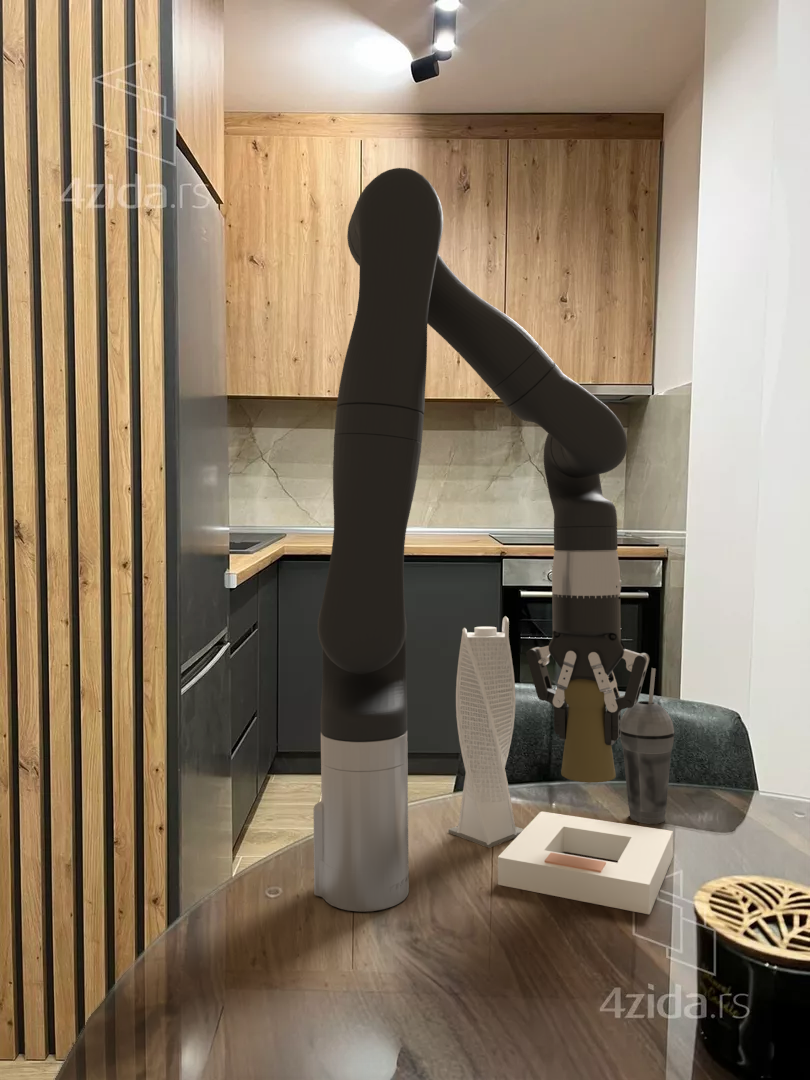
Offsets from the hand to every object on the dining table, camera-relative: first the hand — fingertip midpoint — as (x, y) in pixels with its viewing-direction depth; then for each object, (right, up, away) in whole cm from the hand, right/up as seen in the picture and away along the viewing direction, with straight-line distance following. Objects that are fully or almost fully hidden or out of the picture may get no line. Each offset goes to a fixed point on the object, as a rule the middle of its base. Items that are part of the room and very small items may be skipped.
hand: (587, 740), depth 90 cm
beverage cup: (+12, -15, +17) cm, 25 cm away
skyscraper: (-10, -15, +11) cm, 21 cm away
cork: (0, -4, 0) cm, 4 cm away
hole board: (0, -15, 0) cm, 15 cm away
